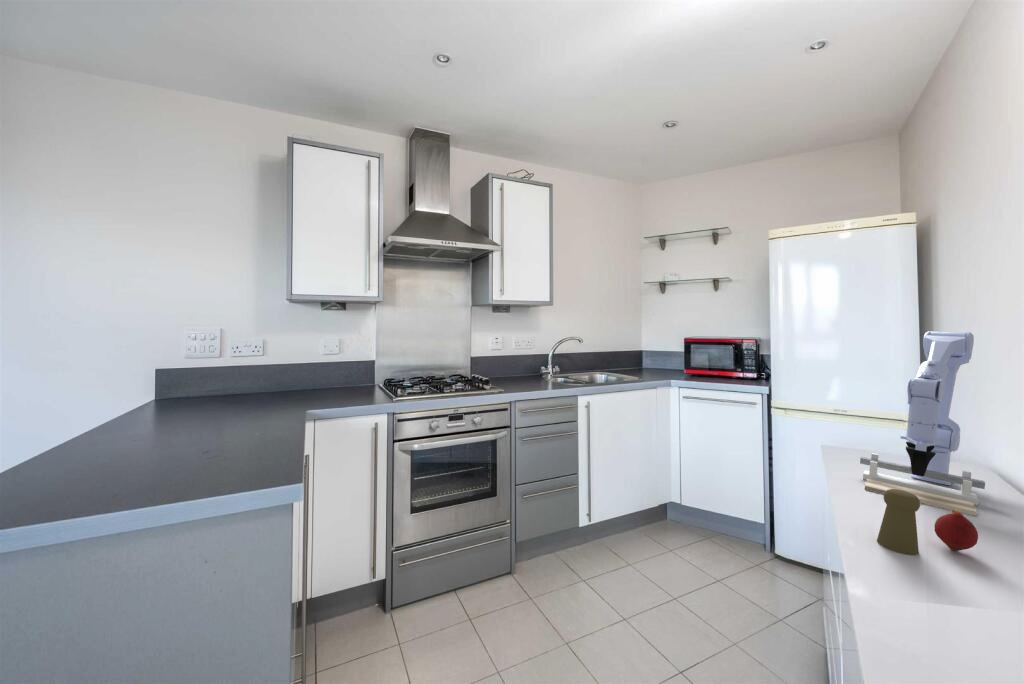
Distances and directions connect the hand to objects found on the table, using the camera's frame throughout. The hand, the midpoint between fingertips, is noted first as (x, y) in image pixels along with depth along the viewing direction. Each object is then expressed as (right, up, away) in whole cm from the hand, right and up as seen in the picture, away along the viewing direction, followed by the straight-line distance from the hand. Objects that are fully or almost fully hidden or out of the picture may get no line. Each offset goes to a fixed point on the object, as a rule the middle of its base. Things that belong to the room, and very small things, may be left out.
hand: (917, 472), depth 113 cm
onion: (-24, -5, -32) cm, 41 cm away
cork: (-35, -5, -31) cm, 47 cm away
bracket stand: (0, -5, 0) cm, 5 cm away
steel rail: (0, -1, 0) cm, 1 cm away
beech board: (-6, -5, -6) cm, 10 cm away
